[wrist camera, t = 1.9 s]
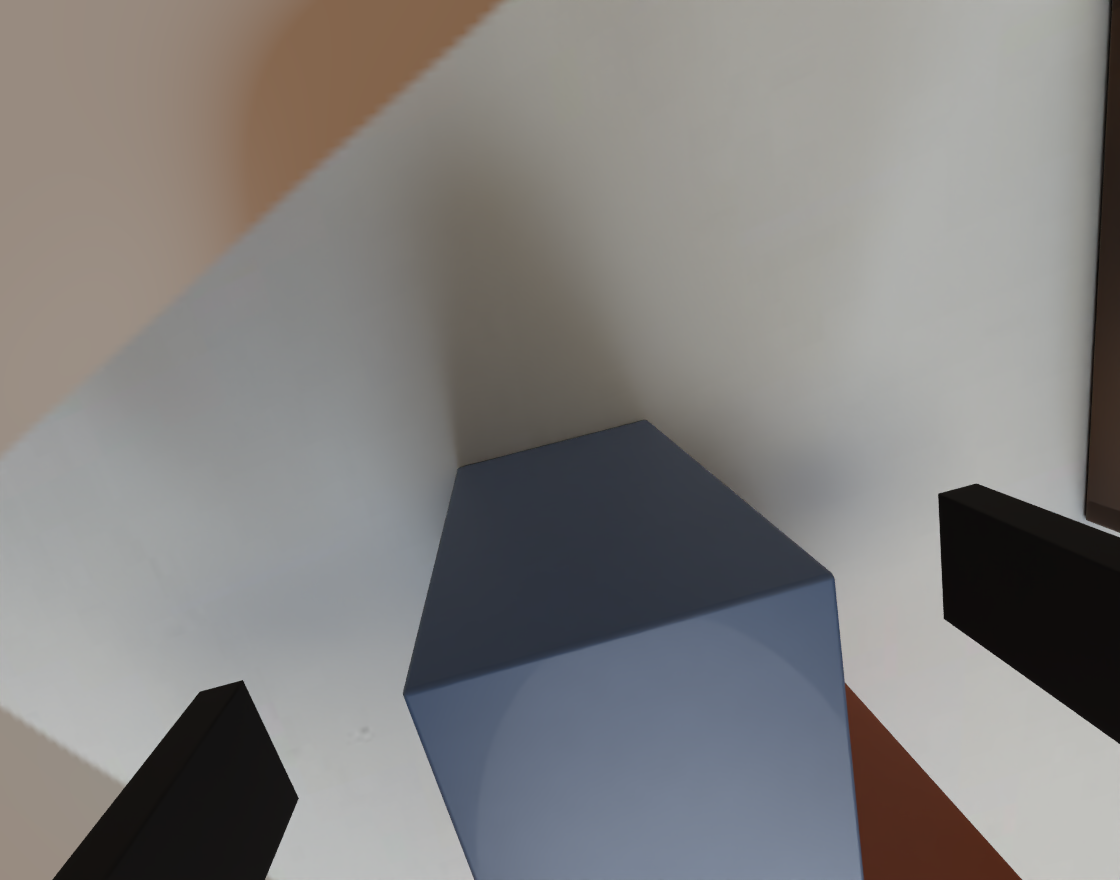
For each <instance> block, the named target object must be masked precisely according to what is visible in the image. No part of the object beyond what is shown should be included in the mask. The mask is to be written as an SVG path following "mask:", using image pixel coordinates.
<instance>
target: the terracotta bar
mask: <svg viewBox="0 0 1120 880" xmlns="http://www.w3.org/2000/svg"><path fill="white" fill-rule="evenodd" d="M845 691H846V701H847V712H848V722H849V732H850V742H851V752H852V763H853V773H854V783H855V793H856V803H857V813H858V824H859V834H860V844H861V854H862V864H863V874H864V880H1022V879H1021V878H1020V877H1019V876H1018V875H1017V873H1016V872H1015V871H1014V870H1013V869H1012V868H1011V867H1010V866H1009V865H1008V863H1007V862H1006V861H1005V860H1004V859H1003V858H1002V857H1001V856H1000V855H999V853H998V852H997V851H996V850H995V849H994V848H993V847H992V846H991V845H990V843H989V842H988V841H987V840H986V839H985V838H984V837H983V836H982V835H981V833H980V832H979V831H978V830H977V829H976V828H975V827H974V826H973V825H972V823H971V822H970V821H969V820H968V819H967V818H966V817H965V816H964V815H963V813H962V812H961V811H960V810H959V809H958V808H957V807H956V806H955V805H954V803H953V802H952V801H951V800H950V799H949V798H948V797H947V796H946V795H945V793H944V792H943V791H942V790H941V789H940V788H939V787H938V786H937V784H936V783H935V782H934V781H933V780H932V779H931V778H930V777H929V776H928V774H927V773H926V772H925V771H924V770H923V769H922V768H921V767H920V766H919V764H918V763H917V762H916V761H915V760H914V759H913V758H912V757H911V756H910V754H909V753H908V752H907V751H906V750H905V749H904V748H903V747H902V746H901V744H900V743H899V742H898V741H897V740H896V739H895V738H894V737H893V736H892V734H891V733H890V732H889V731H888V730H887V729H886V728H885V727H884V726H883V724H882V723H881V722H880V721H879V720H878V719H877V718H876V717H875V716H874V714H873V713H872V712H871V711H870V710H869V709H868V708H867V707H866V706H865V704H864V703H863V702H862V701H861V700H860V699H859V698H858V697H857V695H856V694H855V693H854V692H853V691H852V690H851V689H850V688H849V687H848V685H847V684H846V683H845Z"/></svg>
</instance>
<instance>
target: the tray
mask: <svg viewBox="0 0 1120 880" xmlns="http://www.w3.org/2000/svg"><path fill="white" fill-rule="evenodd" d="M1086 520H1087V521H1090V522H1093V523H1095V524H1098V525H1101V526H1103V527H1106V528H1109V529H1111V530H1114V531H1117V532H1119V533H1120V0H1112V19H1111V38H1110V58H1109V77H1108V97H1107V116H1106V136H1105V155H1104V175H1103V194H1102V213H1101V233H1100V252H1099V272H1098V291H1097V311H1096V330H1095V350H1094V369H1093V388H1092V408H1091V427H1090V447H1089V466H1088V486H1087V505H1086Z"/></svg>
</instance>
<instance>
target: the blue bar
mask: <svg viewBox="0 0 1120 880" xmlns="http://www.w3.org/2000/svg"><path fill="white" fill-rule="evenodd" d="M403 696H404V698H405V701H406V704H407V706H408V709H409V711H410V714H411V717H412V719H413V722H414V724H415V727H416V730H417V732H418V735H419V737H420V740H421V742H422V745H423V748H424V750H425V753H426V755H427V758H428V761H429V763H430V766H431V768H432V771H433V774H434V776H435V779H436V781H437V784H438V787H439V789H440V792H441V794H442V797H443V800H444V802H445V805H446V807H447V810H448V813H449V815H450V818H451V820H452V823H453V826H454V828H455V831H456V833H457V836H458V839H459V841H460V844H461V846H462V849H463V852H464V854H465V857H466V859H467V862H468V864H469V867H470V870H471V872H472V875H473V877H474V880H864V874H863V864H862V854H861V844H860V834H859V824H858V813H857V803H856V793H855V783H854V773H853V763H852V752H851V742H850V732H849V722H848V712H847V701H846V691H845V681H844V671H843V661H842V651H841V640H840V630H839V620H838V610H837V600H836V589H835V579H834V576H833V575H832V573H831V572H830V571H828V570H827V569H826V568H825V567H824V566H822V565H821V564H820V563H819V562H818V561H816V560H815V559H814V558H813V557H812V556H810V555H809V554H808V553H807V552H806V551H804V550H803V549H802V548H801V547H799V546H798V545H797V544H796V543H795V542H793V541H792V540H791V539H790V538H789V537H787V536H786V535H785V534H784V533H783V532H781V531H780V530H779V529H778V528H776V527H775V526H774V525H773V524H772V523H770V522H769V521H768V520H767V519H766V518H764V517H763V516H762V515H761V514H760V513H758V512H757V511H756V510H755V509H754V508H752V507H751V506H750V505H749V504H747V503H746V502H745V501H744V500H743V499H741V498H740V497H739V496H738V495H737V494H735V493H734V492H733V491H732V490H731V489H729V488H728V487H727V486H726V485H725V484H723V483H722V482H721V481H720V480H718V479H717V478H716V477H715V476H714V475H712V474H711V473H710V472H709V471H708V470H706V469H705V468H704V467H703V466H702V465H700V464H699V463H698V462H697V461H695V460H694V459H693V458H692V457H691V456H689V455H688V454H687V453H686V452H685V451H683V450H682V449H681V448H680V447H679V446H677V445H676V444H675V443H674V442H673V441H671V440H670V439H669V438H668V437H666V436H665V435H664V434H663V433H662V432H660V431H659V430H658V429H657V428H656V427H654V426H653V425H652V424H651V423H650V422H648V421H647V420H643V421H639V422H635V423H631V424H627V425H623V426H620V427H616V428H612V429H608V430H604V431H600V432H596V433H592V434H588V435H585V436H581V437H577V438H573V439H569V440H565V441H561V442H557V443H553V444H550V445H546V446H542V447H538V448H534V449H530V450H526V451H522V452H518V453H514V454H511V455H507V456H503V457H499V458H495V459H491V460H487V461H483V462H479V463H476V464H472V465H468V466H464V467H460V468H458V470H457V474H456V479H455V483H454V487H453V491H452V495H451V499H450V503H449V507H448V511H447V515H446V519H445V523H444V527H443V532H442V536H441V540H440V544H439V548H438V552H437V556H436V560H435V564H434V568H433V572H432V576H431V580H430V584H429V589H428V593H427V597H426V601H425V605H424V609H423V613H422V617H421V621H420V625H419V629H418V633H417V637H416V641H415V646H414V650H413V654H412V658H411V662H410V666H409V670H408V674H407V678H406V682H405V686H404V690H403Z"/></svg>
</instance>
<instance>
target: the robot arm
mask: <svg viewBox="0 0 1120 880" xmlns="http://www.w3.org/2000/svg"><path fill="white" fill-rule="evenodd" d="M938 498H939V521H940V543H941V566H942V588H943V610H944V619H945V620H946V621H948V622H949V623H951V624H952V625H953V626H955V627H956V628H958V629H959V630H960V631H962V632H963V633H965V634H966V635H967V636H969V637H970V638H972V639H973V640H974V641H976V642H977V643H979V644H980V645H981V646H983V647H984V648H986V649H987V650H989V651H990V652H991V653H993V654H994V655H996V656H997V657H998V658H1000V659H1001V660H1003V661H1004V662H1005V663H1007V664H1008V665H1010V666H1011V667H1012V668H1014V669H1015V670H1017V671H1018V672H1019V673H1021V674H1022V675H1024V676H1025V677H1026V678H1028V679H1029V680H1031V681H1032V682H1033V683H1035V684H1036V685H1038V686H1039V687H1040V688H1042V689H1043V690H1045V691H1046V692H1048V693H1049V694H1050V695H1052V696H1053V697H1055V698H1056V699H1057V700H1059V701H1060V702H1062V703H1063V704H1064V705H1066V706H1067V707H1069V708H1070V709H1071V710H1073V711H1074V712H1076V713H1077V714H1078V715H1080V716H1081V717H1083V718H1084V719H1085V720H1087V721H1088V722H1090V723H1091V724H1092V725H1094V726H1095V727H1097V728H1098V729H1099V730H1101V731H1102V732H1104V733H1105V734H1107V735H1108V736H1109V737H1111V738H1112V739H1114V740H1115V741H1116V742H1118V743H1119V744H1120V537H1117V536H1114V535H1112V534H1109V533H1106V532H1104V531H1101V530H1098V529H1096V528H1093V527H1090V526H1088V525H1085V524H1082V523H1080V522H1077V521H1075V520H1072V519H1069V518H1067V517H1064V516H1061V515H1059V514H1056V513H1053V512H1051V511H1048V510H1045V509H1043V508H1040V507H1037V506H1035V505H1032V504H1029V503H1027V502H1024V501H1021V500H1019V499H1016V498H1014V497H1011V496H1008V495H1006V494H1003V493H1000V492H998V491H995V490H992V489H990V488H987V487H984V486H982V485H979V484H973V485H969V486H966V487H962V488H958V489H954V490H951V491H947V492H943V493H939V494H938ZM298 799H299V798H298V796H297V794H296V792H295V790H294V787H293V785H292V783H291V781H290V779H289V777H288V775H287V773H286V770H285V768H284V766H283V764H282V762H281V760H280V758H279V756H278V754H277V751H276V749H275V747H274V745H273V743H272V741H271V739H270V737H269V734H268V732H267V730H266V728H265V726H264V724H263V722H262V720H261V718H260V715H259V713H258V711H257V709H256V707H255V705H254V703H253V701H252V698H251V696H250V694H249V692H248V690H247V688H246V686H245V684H244V682H243V680H242V681H238V682H234V683H231V684H227V685H223V686H219V687H216V688H212V689H208V690H204V691H201V692H199V693H198V695H197V696H196V697H195V699H194V700H193V701H192V702H191V704H190V705H189V706H188V707H187V709H186V710H185V711H184V713H183V714H182V715H181V716H180V718H179V719H178V720H177V722H176V723H175V724H174V725H173V727H172V728H171V729H170V730H169V732H168V733H167V734H166V736H165V737H164V738H163V739H162V741H161V742H160V743H159V744H158V746H157V747H156V748H155V750H154V751H153V752H152V753H151V755H150V756H149V757H148V758H147V760H146V761H145V762H144V764H143V765H142V766H141V767H140V769H139V770H138V771H137V773H136V774H135V775H134V776H133V778H132V779H131V780H130V781H129V783H128V784H127V785H126V787H125V788H124V789H123V790H122V792H121V793H120V794H119V796H118V797H117V798H116V799H115V801H114V802H113V803H112V804H111V806H110V807H109V808H108V810H107V811H106V812H105V813H104V815H103V816H102V817H101V818H100V820H99V821H98V822H97V824H96V825H95V826H94V827H93V829H92V830H91V831H90V832H89V834H88V835H87V836H86V838H85V839H84V840H83V841H82V843H81V844H80V845H79V847H78V848H77V849H76V850H75V852H74V853H73V854H72V855H71V857H70V858H69V859H68V860H67V862H66V863H65V864H64V866H63V867H62V868H61V870H60V871H59V872H58V873H57V874H56V876H55V877H54V879H53V880H265V878H266V876H267V873H268V871H269V869H270V866H271V864H272V861H273V859H274V857H275V854H276V852H277V849H278V847H279V844H280V842H281V840H282V837H283V835H284V832H285V830H286V828H287V825H288V823H289V820H290V818H291V816H292V813H293V811H294V808H295V806H296V804H297V801H298Z"/></svg>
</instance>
